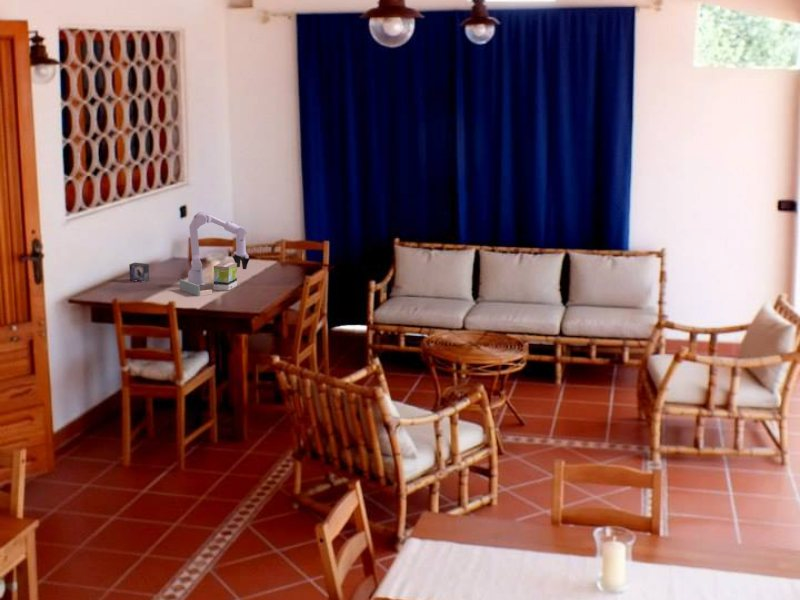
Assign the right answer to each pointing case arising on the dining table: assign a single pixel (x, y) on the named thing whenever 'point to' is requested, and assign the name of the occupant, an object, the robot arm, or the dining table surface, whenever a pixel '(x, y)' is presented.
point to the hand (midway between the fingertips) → (241, 268)
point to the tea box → (225, 276)
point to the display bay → (193, 288)
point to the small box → (139, 271)
